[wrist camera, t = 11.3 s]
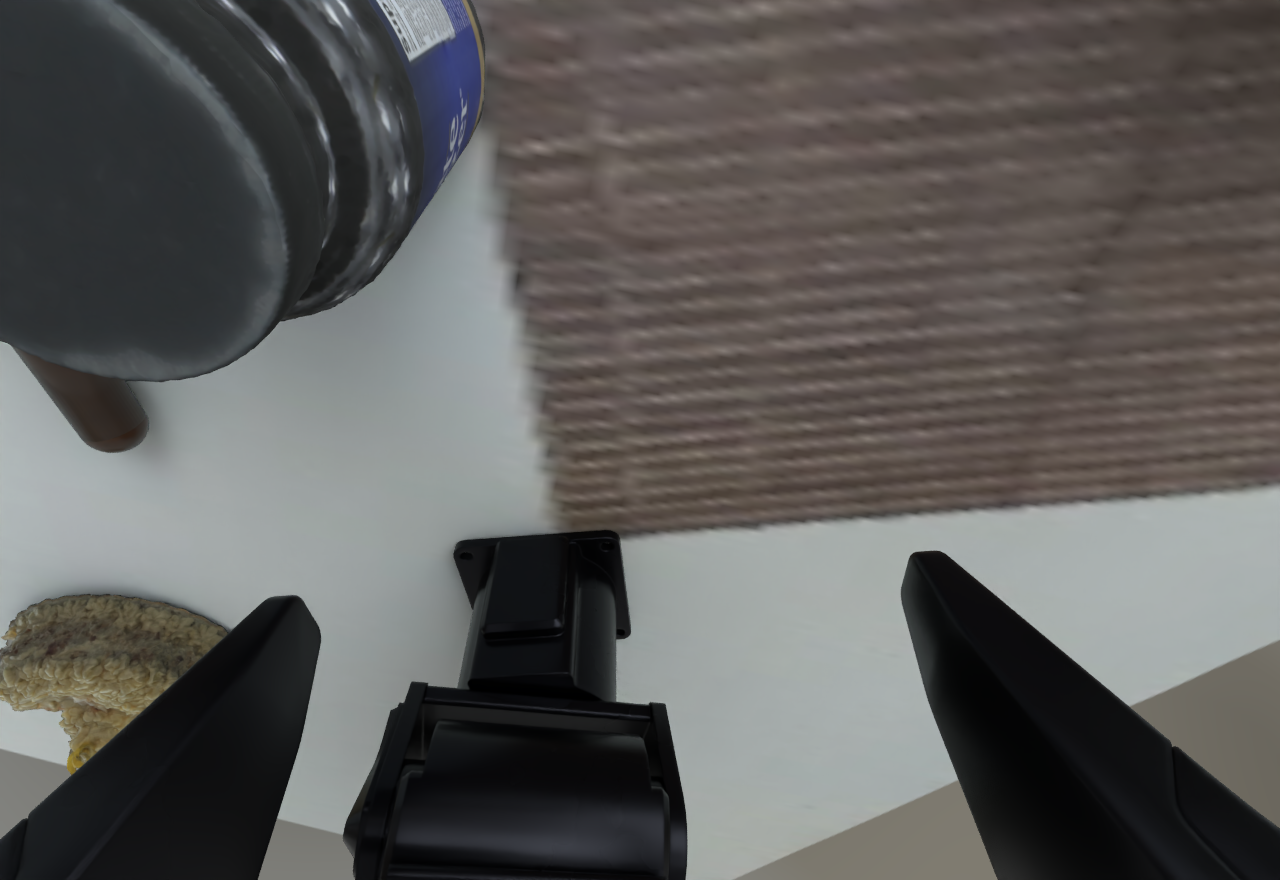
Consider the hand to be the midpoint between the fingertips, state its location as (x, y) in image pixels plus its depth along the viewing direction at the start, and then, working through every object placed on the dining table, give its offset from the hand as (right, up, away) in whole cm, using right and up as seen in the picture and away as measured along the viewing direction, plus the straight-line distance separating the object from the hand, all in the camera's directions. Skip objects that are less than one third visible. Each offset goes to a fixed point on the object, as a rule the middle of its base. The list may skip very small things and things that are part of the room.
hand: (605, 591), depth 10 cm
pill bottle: (-6, +12, +6) cm, 15 cm away
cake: (-22, -7, +21) cm, 31 cm away
